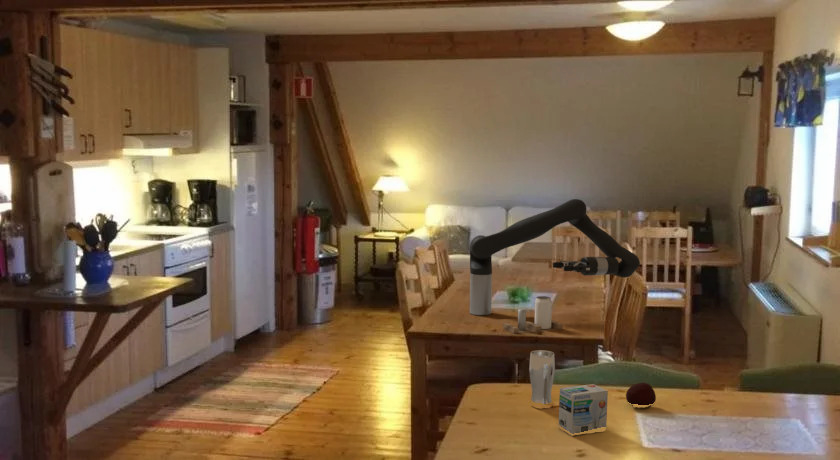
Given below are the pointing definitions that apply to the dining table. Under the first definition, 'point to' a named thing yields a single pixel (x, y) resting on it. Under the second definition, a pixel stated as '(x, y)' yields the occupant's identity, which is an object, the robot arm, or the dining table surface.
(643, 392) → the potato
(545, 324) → the can
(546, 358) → the beer glass
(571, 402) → the light bulb box
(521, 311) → the grey peg
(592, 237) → the robot arm
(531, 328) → the rail
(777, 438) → the dining table surface
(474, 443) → the dining table surface
